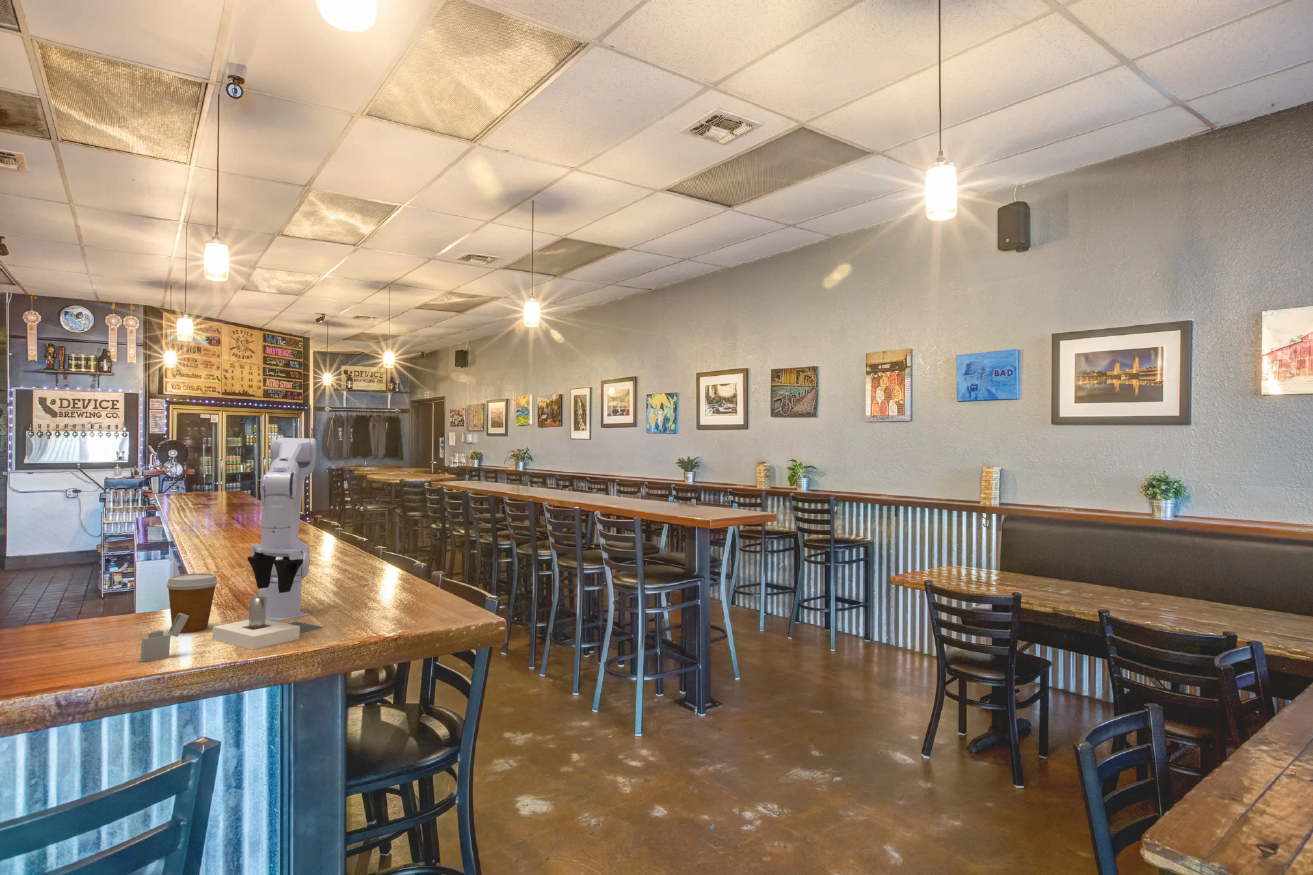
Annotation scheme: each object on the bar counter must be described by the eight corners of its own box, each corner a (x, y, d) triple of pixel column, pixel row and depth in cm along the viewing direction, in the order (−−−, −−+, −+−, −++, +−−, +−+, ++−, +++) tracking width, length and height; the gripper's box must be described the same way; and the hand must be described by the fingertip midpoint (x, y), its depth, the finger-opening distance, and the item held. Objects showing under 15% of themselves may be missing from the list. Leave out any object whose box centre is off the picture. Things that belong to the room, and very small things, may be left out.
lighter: (143, 662, 126) (145, 619, 126) (140, 660, 127) (142, 617, 127) (187, 654, 132) (189, 613, 132) (183, 652, 133) (185, 611, 133)
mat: (263, 630, 151) (263, 628, 151) (296, 623, 158) (296, 621, 158) (291, 636, 146) (291, 635, 146) (324, 629, 153) (324, 627, 153)
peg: (244, 641, 141) (247, 598, 142) (258, 638, 144) (261, 596, 144) (253, 643, 140) (255, 599, 140) (267, 640, 143) (269, 597, 143)
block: (211, 641, 141) (212, 626, 141) (259, 631, 150) (259, 617, 150) (252, 651, 134) (253, 636, 134) (299, 640, 143) (299, 626, 143)
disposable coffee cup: (225, 629, 150) (228, 575, 151) (179, 639, 142) (183, 581, 142) (198, 624, 154) (201, 571, 155) (153, 633, 146) (156, 577, 146)
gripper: (238, 525, 146) (235, 588, 146) (279, 531, 139) (276, 597, 139) (270, 523, 152) (267, 584, 152) (311, 528, 145) (308, 591, 145)
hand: (273, 590), depth 146 cm, fingers open, 7 cm apart
